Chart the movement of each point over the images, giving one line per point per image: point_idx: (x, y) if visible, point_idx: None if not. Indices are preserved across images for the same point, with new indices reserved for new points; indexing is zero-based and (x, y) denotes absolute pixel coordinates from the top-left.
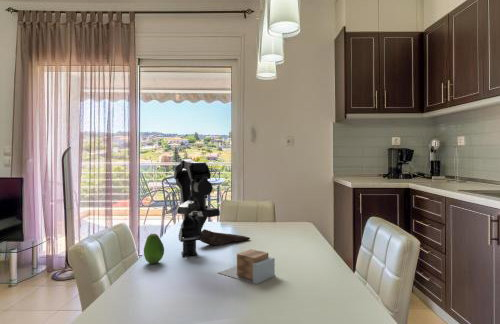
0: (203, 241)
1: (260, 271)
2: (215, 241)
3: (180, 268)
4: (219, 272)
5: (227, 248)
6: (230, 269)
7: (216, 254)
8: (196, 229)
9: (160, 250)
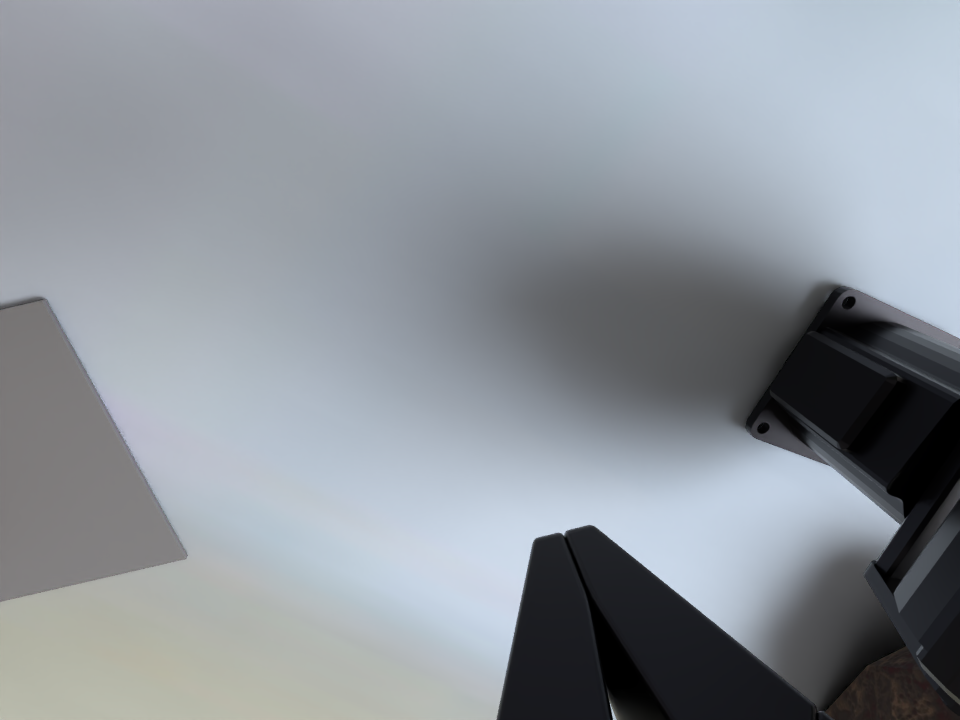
0: None
1: None
2: (867, 706)
3: (474, 22)
4: (43, 318)
5: None
6: (94, 454)
7: None
8: (614, 581)
9: None
